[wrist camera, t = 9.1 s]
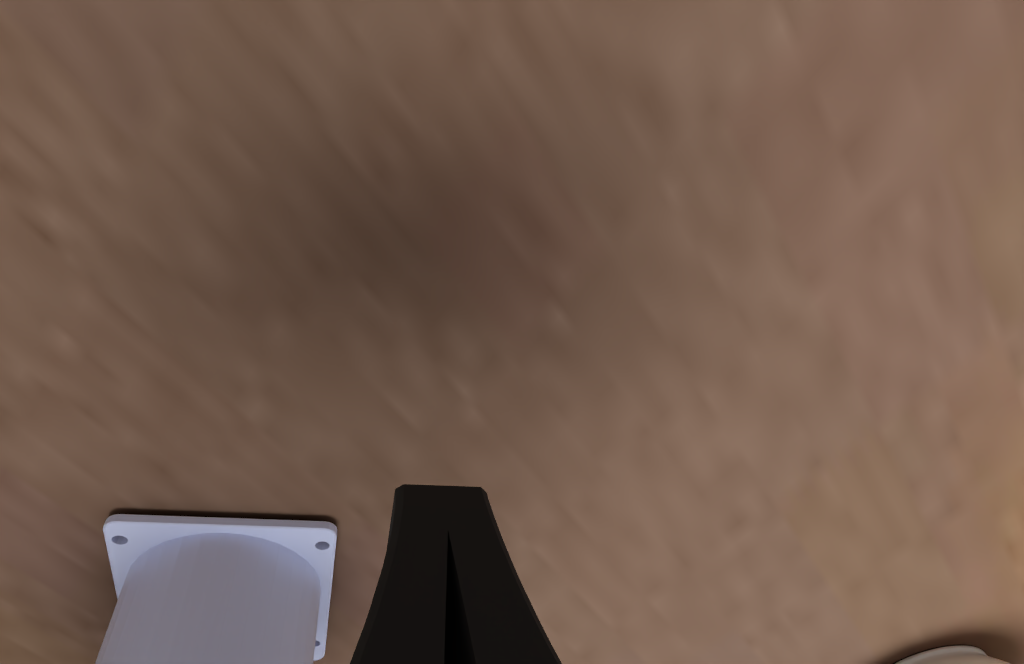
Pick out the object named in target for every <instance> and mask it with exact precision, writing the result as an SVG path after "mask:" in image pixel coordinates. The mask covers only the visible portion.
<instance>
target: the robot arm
mask: <svg viewBox="0 0 1024 664" xmlns="http://www.w3.org/2000/svg"><path fill="white" fill-rule="evenodd" d="M103 532H104V537H105V542H106V547H107V551H108V556H109V561H110V566H111V571H112V575H113V580H114V585H115V590H116V594H117V599H118V601H117V604H116V606H115V609H114V612H113V615H112V618H111V620H110V623H109V626H108V629H107V631H106V634H105V637H104V640H103V643H102V645H101V648H100V651H99V654H98V657H97V659H96V662H95V664H313V661H315V660H319V659H321V658H322V657H324V655H325V646H326V637H327V627H328V617H329V608H330V598H331V588H332V578H333V569H334V559H335V549H336V540H337V527H336V526H335V525H334V524H333V523H330V522H326V521H304V520H276V519H248V518H219V517H191V516H163V515H134V514H115V515H112V516H109V517H108V518H107V519H106V521H105V524H104V526H103ZM350 664H562V663H561V661H560V659H559V658H558V656H557V654H556V652H555V650H554V649H553V647H552V645H551V643H550V641H549V639H548V637H547V635H546V633H545V631H544V629H543V627H542V625H541V623H540V621H539V619H538V617H537V615H536V613H535V611H534V609H533V607H532V605H531V603H530V600H529V598H528V596H527V594H526V592H525V590H524V588H523V586H522V584H521V581H520V579H519V577H518V575H517V572H516V570H515V568H514V566H513V563H512V561H511V558H510V556H509V554H508V551H507V549H506V546H505V544H504V541H503V539H502V536H501V534H500V531H499V529H498V526H497V523H496V520H495V518H494V515H493V512H492V509H491V506H490V503H489V500H488V496H487V493H486V492H485V491H484V490H483V489H482V488H481V487H464V486H435V485H406V484H403V485H402V486H400V487H398V488H396V489H395V496H394V503H393V510H392V517H391V524H390V531H389V538H388V545H387V552H386V556H385V560H384V564H383V568H382V571H381V575H380V578H379V581H378V584H377V588H376V591H375V594H374V597H373V601H372V604H371V607H370V610H369V613H368V616H367V619H366V622H365V625H364V628H363V630H362V633H361V636H360V638H359V641H358V644H357V646H356V649H355V652H354V654H353V657H352V660H351V662H350Z"/></svg>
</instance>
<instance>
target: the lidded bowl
mask: <svg viewBox="0 0 1024 664" xmlns="http://www.w3.org/2000/svg"><path fill="white" fill-rule="evenodd" d="M895 664H1011V663H1008V662H1005V661H1002V660H999V659H996V658H993V657H989V656H987V655H986V653H985V652H984V651H983V650H981V649H979V648H977V647H973V646H967V645H956V646H946V647H940V648H935V649H931V650H927V651H924V652H921V653H918V654H915V655H912V656H910V657H907V658H905V659H903V660H900V661H899V662H897V663H895Z"/></svg>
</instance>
